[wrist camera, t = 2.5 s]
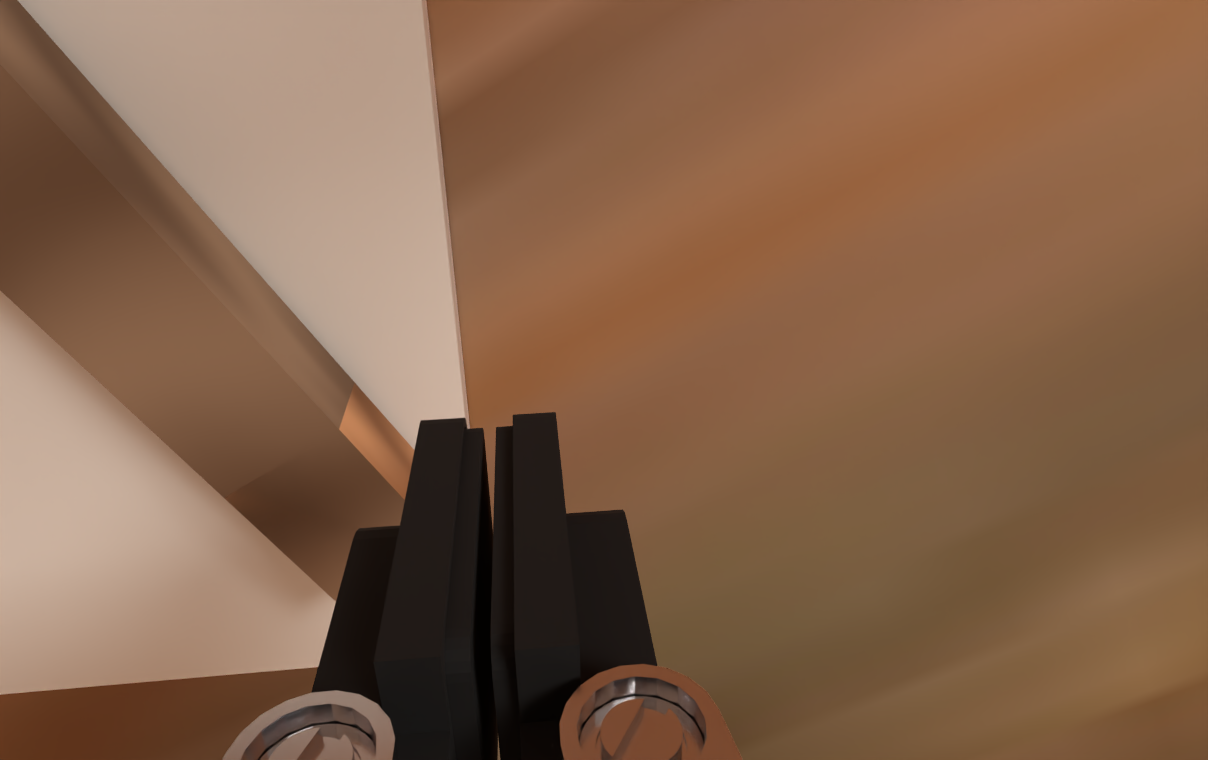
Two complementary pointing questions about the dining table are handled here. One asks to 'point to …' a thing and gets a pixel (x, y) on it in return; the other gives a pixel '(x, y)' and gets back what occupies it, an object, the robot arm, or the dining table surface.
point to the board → (296, 274)
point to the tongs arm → (180, 317)
